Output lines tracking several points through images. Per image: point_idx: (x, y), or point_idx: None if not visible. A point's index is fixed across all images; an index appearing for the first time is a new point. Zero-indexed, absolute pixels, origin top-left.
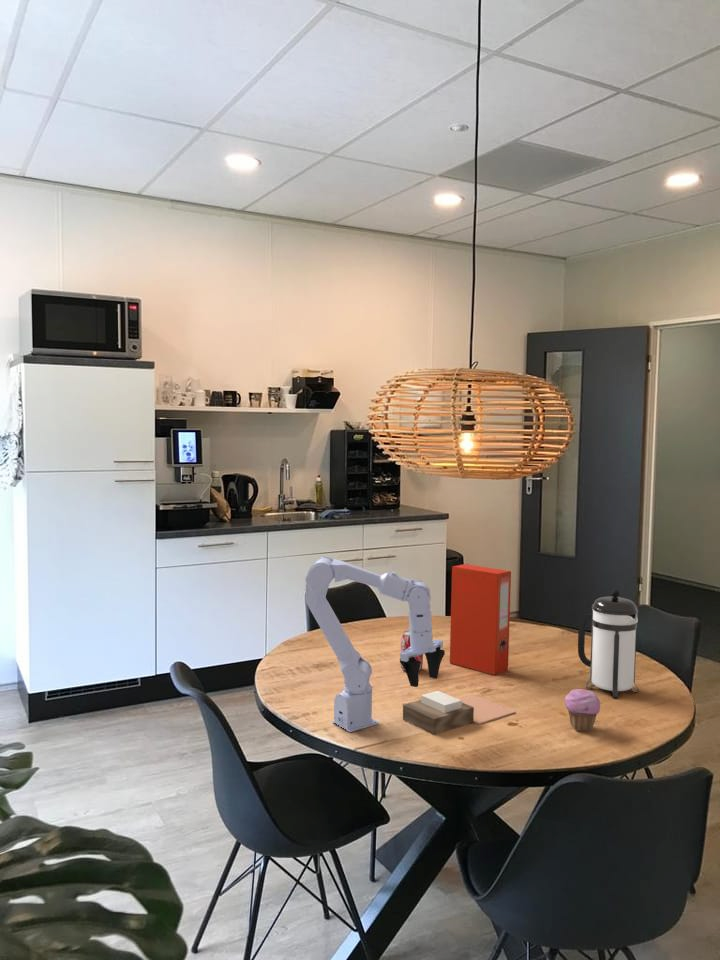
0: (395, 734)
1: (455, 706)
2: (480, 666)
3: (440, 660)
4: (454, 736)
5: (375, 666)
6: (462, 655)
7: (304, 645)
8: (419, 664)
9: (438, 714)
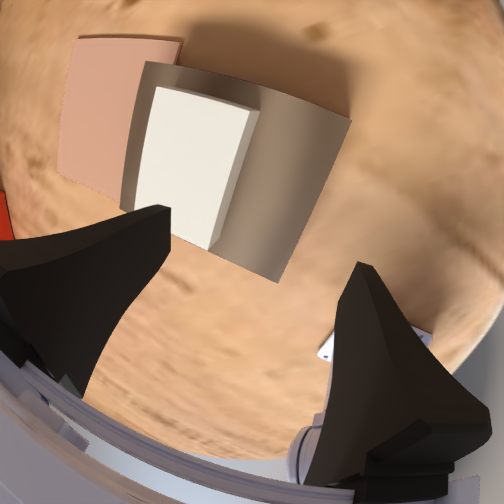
0: (406, 234)
1: (196, 93)
2: (3, 223)
3: (53, 241)
4: (318, 54)
5: (104, 366)
6: None
7: (135, 429)
8: (422, 398)
9: (291, 125)
